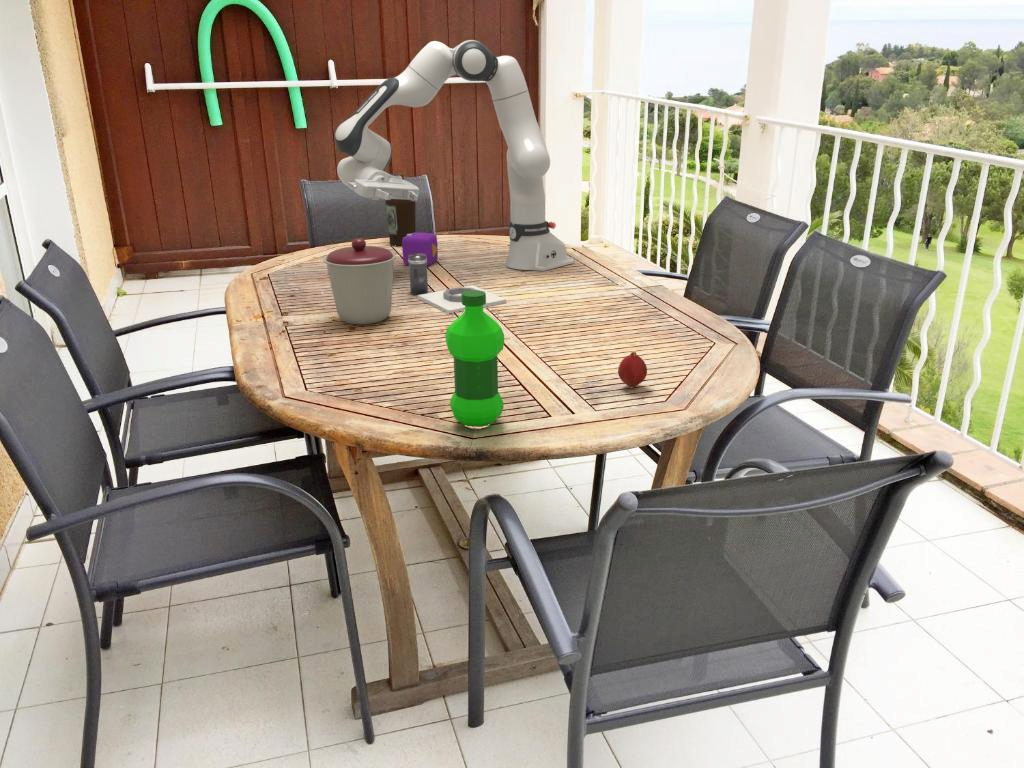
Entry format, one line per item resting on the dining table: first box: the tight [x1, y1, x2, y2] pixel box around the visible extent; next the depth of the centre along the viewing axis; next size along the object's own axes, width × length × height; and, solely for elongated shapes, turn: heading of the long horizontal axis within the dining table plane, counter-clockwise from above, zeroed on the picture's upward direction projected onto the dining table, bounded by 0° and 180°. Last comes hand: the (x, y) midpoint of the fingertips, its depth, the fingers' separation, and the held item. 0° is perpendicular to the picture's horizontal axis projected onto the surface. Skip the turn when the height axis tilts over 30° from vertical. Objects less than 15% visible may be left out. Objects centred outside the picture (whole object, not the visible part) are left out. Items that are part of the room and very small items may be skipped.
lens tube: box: [408, 253, 429, 296], centre depth 231 cm, size 5×5×11 cm
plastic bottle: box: [445, 290, 505, 426], centre depth 145 cm, size 10×10×25 cm
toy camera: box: [402, 232, 439, 267], centre depth 266 cm, size 11×14×10 cm
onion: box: [617, 350, 648, 388], centre depth 164 cm, size 6×6×8 cm
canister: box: [323, 237, 397, 325], centre depth 207 cm, size 18×18×21 cm
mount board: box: [417, 284, 507, 314], centre depth 225 cm, size 18×18×2 cm
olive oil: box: [384, 172, 417, 247], centre depth 289 cm, size 11×11×25 cm
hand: (402, 197), depth 231 cm, fingers open, 8 cm apart
